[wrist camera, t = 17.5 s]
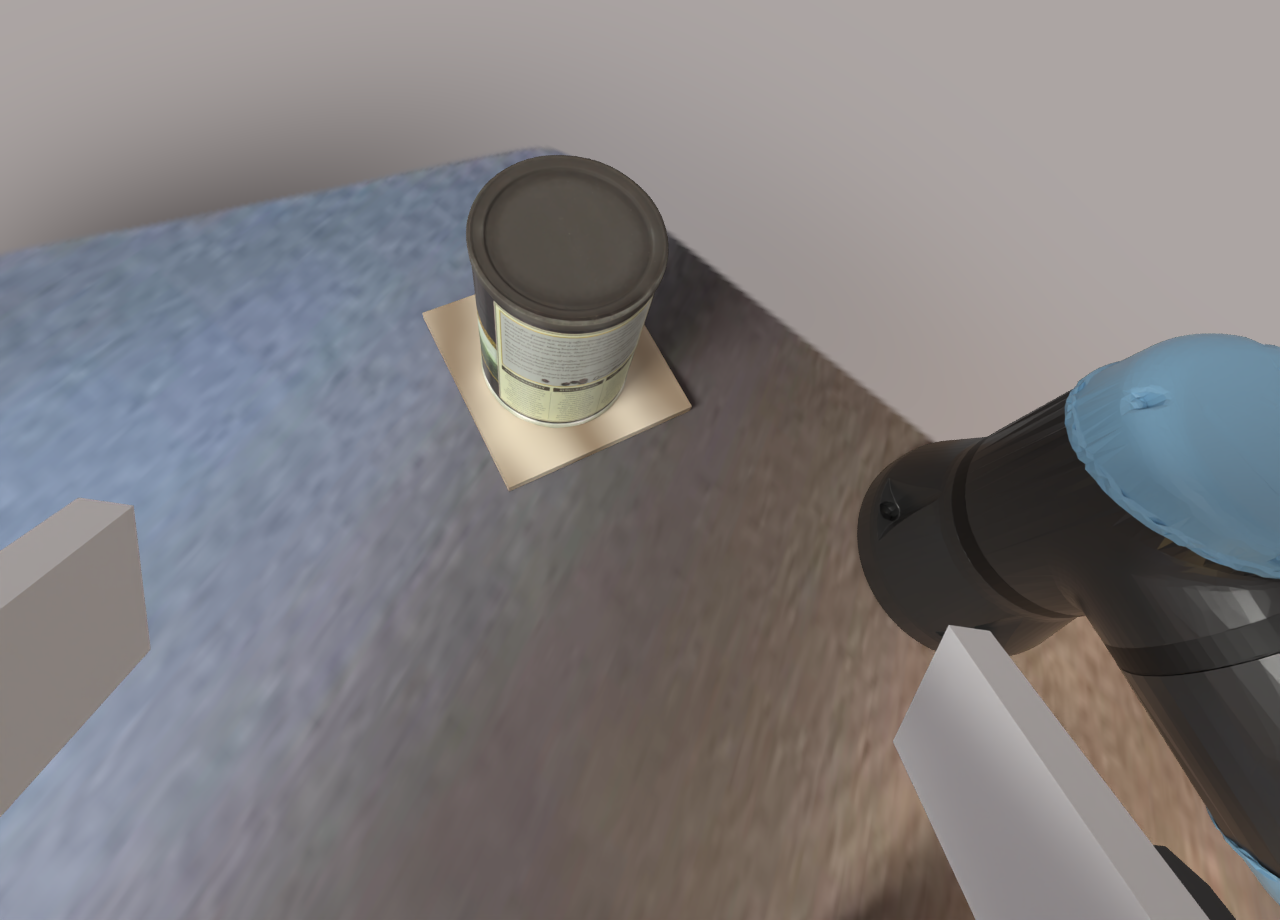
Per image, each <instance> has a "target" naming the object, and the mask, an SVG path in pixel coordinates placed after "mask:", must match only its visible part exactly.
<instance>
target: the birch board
mask: <svg viewBox="0 0 1280 920" xmlns="http://www.w3.org/2000/svg"><path fill="white" fill-rule="evenodd" d="M423 317H424V320H425V322H426V324H427V326H428V328H429V330H430V332H431V334H432V336H433V339H434V341H435V343H436V345H437V347H438V349H439V351H440V353H441V355H442V357H443V359H444V361H445V363H446V365H447V367H448V369H449V371H450V373H451V375H452V377H453V379H454V381H455V383H456V385H457V387H458V389H459V391H460V393H461V395H462V397H463V399H464V401H465V403H466V405H467V407H468V409H469V411H470V413H471V415H472V417H473V419H474V421H475V423H476V426H477V428H478V430H479V432H480V434H481V436H482V438H483V440H484V442H485V444H486V446H487V448H488V450H489V452H490V454H491V456H492V458H493V460H494V462H495V464H496V466H497V468H498V470H499V472H500V474H501V476H502V478H503V480H504V482H505V484H506V486H507V488H508V490H509V491H511V490H514V489H516V488H518V487H520V486H523V485H525V484H527V483H529V482H532V481H534V480H536V479H538V478H541V477H543V476H545V475H547V474H549V473H552V472H554V471H556V470H558V469H561V468H563V467H565V466H567V465H570V464H572V463H574V462H576V461H578V460H581V459H583V458H585V457H587V456H590V455H592V454H594V453H596V452H599V451H601V450H603V449H605V448H608V447H610V446H612V445H614V444H616V443H619V442H621V441H623V440H625V439H628V438H630V437H632V436H634V435H637V434H639V433H641V432H643V431H646V430H648V429H650V428H652V427H654V426H657V425H659V424H661V423H663V422H666V421H668V420H670V419H672V418H675V417H677V416H679V415H681V414H683V413H686V412H688V411H689V410H690V409H691V407H692V406H691V404H690V402H689V401H688V399H687V397H686V395H685V394H684V392H683V390H682V389H681V387H680V385H679V383H678V382H677V380H676V378H675V376H674V375H673V373H672V371H671V370H670V368H669V366H668V364H667V363H666V361H665V359H664V357H663V356H662V354H661V352H660V351H659V349H658V347H657V345H656V344H655V342H654V340H653V338H652V337H651V335H650V333H649V332H648V330H647V328H646V326H645V325H644V326H643V329H642V331H641V334H640V338H639V341H638V344H637V347H636V349H635V352H634V356H633V359H632V362H631V364H630V367H629V370H628V374H627V379H626V383H625V385H624V388H623V390H622V392H621V394H620V395H619V397H618V398H617V400H616V401H615V402H614V403H613V404H612V406H611V407H610V408H609V409H608V410H607V411H605V412H604V413H602V414H601V415H600V416H598V417H596V418H595V419H593V420H591V421H589V422H586V423H584V424H580V425H577V426H572V427H563V428H550V427H544V426H539V425H535V424H532V423H529V422H526V421H524V420H522V419H520V418H518V417H516V416H515V415H513V414H512V413H510V412H509V411H507V410H506V409H505V408H504V407H503V406H502V405H501V404H500V403H499V402H498V401H497V400H496V399H495V397H494V396H493V394H492V393H491V391H490V389H489V388H488V386H487V384H486V381H485V378H484V375H483V372H482V366H481V344H480V336H479V327H478V317H477V307H476V299H475V295H472V296H470V297H467V298H464V299H461V300H458V301H455V302H452V303H450V304H447V305H444V306H441V307H438V308H435V309H432V310H430V311H427V312H424V313H423Z"/></svg>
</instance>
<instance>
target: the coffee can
mask: <svg viewBox="0 0 1280 920" xmlns="http://www.w3.org/2000/svg"><path fill="white" fill-rule="evenodd" d="M466 241H467V248H468V253H469V258H470V262H471V265H472V272H473V280H474V289H475V299H476V307H477V317H478V327H479V336H480V344H481V366H482V372H483V375H484V378H485V381H486V384H487V386H488V388H489V389H490V391H491V393H492V394H493V396H494V397H495V399H496V400H497V401H498V402H499V403H500V404H501V405H502V406H503V407H504V408H505V409H506V410H507V411H509V412H510V413H512V414H513V415H515V416H516V417H518V418H520V419H522V420H524V421H526V422H529V423H532V424H535V425H539V426H544V427H550V428H563V427H572V426H577V425H580V424H584V423H586V422H589V421H591V420H593V419H595V418H596V417H598V416H600V415H601V414H602V413H604V412H605V411H607V410H608V409H609V408H610V407H611V406H612V404H613V403H614V402H615V401H616V400H617V398H618V397H619V395H620V394H621V392H622V390H623V388H624V385H625V383H626V379H627V374H628V370H629V367H630V364H631V362H632V359H633V356H634V352H635V349H636V347H637V344H638V341H639V338H640V334H641V331H642V329H643V326H644V323H645V320H646V317H647V314H648V311H649V309H650V306H651V303H652V299H653V297H654V294H655V291H656V290H657V288H658V286H659V284H660V282H661V280H662V278H663V275H664V272H665V269H666V265H667V260H668V236H667V233H666V228H665V225H664V222H663V219H662V216H661V214H660V212H659V210H658V208H657V207H656V205H655V204H654V202H653V201H652V199H651V198H650V197H649V196H648V194H647V193H646V192H645V191H644V190H643V189H642V188H641V187H640V186H639V185H638V184H636V183H635V182H634V181H633V180H631V179H630V178H629V177H627V176H626V175H624V174H623V173H621V172H620V171H618V170H616V169H614V168H613V167H611V166H608V165H605V164H603V163H601V162H598V161H595V160H591V159H587V158H582V157H577V156H566V155H549V156H540V157H535V158H531V159H527V160H524V161H521V162H518V163H516V164H514V165H511V166H510V167H508V168H506V169H504V170H503V171H501V172H500V173H498V174H497V175H496V176H495V177H493V178H492V179H491V180H490V181H488V183H487V184H486V185H485V186H484V187H483V188H482V190H481V191H480V192H479V194H478V195H477V197H476V198H475V200H474V202H473V204H472V207H471V210H470V213H469V216H468V220H467V227H466Z"/></svg>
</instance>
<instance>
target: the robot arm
mask: <svg viewBox="0 0 1280 920" xmlns="http://www.w3.org/2000/svg"><path fill="white" fill-rule="evenodd" d="M857 537H858V549H859V555H860V560H861V564H862V568H863V571H864V574H865V576H866V579H867V581H868V584H869V586H870V588H871V590H872V592H873V594H874V595H875V597H876V599H877V600H878V602H879V603H880V605H881V606H882V608H883V609H884V610H885V612H886V613H887V614H888V615H889V617H890V618H891V619H892V620H893V621H894V622H895V623H896V624H897V625H898V626H899V627H900V628H901V629H902V630H903V631H904V632H906V633H907V634H908V635H909V636H911V637H912V638H914V639H915V640H916V641H918V642H920V643H921V644H923V645H925V646H926V647H928V648H930V649H932V650H935V651H936V653H935V655H934V657H933V659H932V661H931V663H930V665H929V667H928V669H927V671H926V673H925V676H924V678H923V680H922V682H921V684H920V686H919V688H918V690H917V692H916V694H915V696H914V698H913V701H912V703H911V705H910V707H909V709H908V711H907V713H906V715H905V717H904V719H903V721H902V724H901V726H900V728H899V730H898V732H897V734H896V736H895V738H894V740H893V743H894V745H895V747H896V749H897V751H898V753H899V755H900V758H901V760H902V762H903V764H904V766H905V768H906V771H907V773H908V775H909V777H910V779H911V781H912V784H913V786H914V788H915V790H916V792H917V794H918V796H919V799H920V801H921V803H922V805H923V807H924V809H925V812H926V814H927V816H928V818H929V820H930V822H931V825H932V827H933V829H934V831H935V833H936V835H937V838H938V840H939V842H940V844H941V846H942V848H943V850H944V853H945V855H946V857H947V859H948V861H949V863H950V866H951V868H952V870H953V872H954V874H955V876H956V879H957V881H958V883H959V885H960V887H961V889H962V892H963V894H964V896H965V898H966V900H967V902H968V904H969V907H970V909H971V911H972V913H973V915H974V917H975V920H1236V919H1235V918H1234V916H1233V915H1232V914H1231V913H1230V911H1229V910H1228V909H1227V908H1226V906H1225V905H1224V904H1223V903H1222V901H1221V900H1220V899H1219V898H1218V896H1217V895H1216V894H1215V893H1214V891H1213V890H1212V889H1211V888H1210V886H1209V885H1208V884H1207V883H1206V882H1204V881H1203V880H1202V879H1201V878H1200V877H1199V876H1198V875H1197V874H1196V873H1194V872H1193V871H1192V870H1191V869H1190V868H1189V867H1188V866H1187V865H1186V864H1184V863H1183V862H1182V861H1181V860H1180V859H1179V858H1178V857H1177V856H1176V855H1174V854H1173V853H1172V852H1171V851H1170V850H1169V849H1168V848H1167V847H1165V846H1157V845H1152V843H1151V842H1150V841H1149V839H1148V838H1147V837H1146V835H1145V834H1144V833H1143V831H1142V830H1141V829H1140V827H1139V826H1138V825H1137V824H1136V822H1135V821H1134V820H1133V818H1132V817H1131V816H1130V814H1129V813H1128V812H1127V810H1126V809H1125V808H1124V806H1123V805H1122V804H1121V803H1120V801H1119V800H1118V799H1117V797H1116V796H1115V795H1114V793H1113V792H1112V791H1111V789H1110V788H1109V787H1108V785H1107V784H1106V783H1105V782H1104V780H1103V779H1102V778H1101V776H1100V775H1099V774H1098V772H1097V771H1096V770H1095V768H1094V767H1093V766H1092V764H1091V763H1090V762H1089V760H1088V759H1087V758H1086V757H1085V755H1084V754H1083V753H1082V751H1081V750H1080V749H1079V747H1078V746H1077V745H1076V743H1075V742H1074V741H1073V739H1072V738H1071V737H1070V736H1069V734H1068V733H1067V732H1066V730H1065V729H1064V728H1063V726H1062V725H1061V724H1060V722H1059V721H1058V720H1057V718H1056V717H1055V716H1054V714H1053V713H1052V712H1051V711H1050V709H1049V708H1048V707H1047V705H1046V704H1045V703H1044V701H1043V700H1042V699H1041V697H1040V696H1039V695H1038V693H1037V692H1036V691H1035V690H1034V688H1033V687H1032V686H1031V684H1030V683H1029V682H1028V680H1027V679H1026V678H1025V676H1024V675H1023V674H1022V672H1021V671H1020V670H1019V669H1018V667H1017V666H1016V665H1015V663H1014V662H1013V661H1012V659H1011V658H1010V657H1009V656H1012V655H1015V654H1019V653H1022V652H1024V651H1027V650H1029V649H1031V648H1033V647H1035V646H1037V645H1039V644H1040V643H1042V642H1043V641H1045V640H1046V639H1047V638H1049V637H1050V636H1052V635H1053V634H1054V633H1056V632H1057V631H1058V630H1060V629H1061V628H1063V627H1064V626H1065V625H1067V624H1068V623H1070V622H1071V621H1072V620H1074V619H1075V618H1076V617H1080V616H1086V617H1087V618H1088V620H1089V621H1090V623H1091V624H1092V626H1093V627H1094V629H1095V630H1096V632H1097V633H1098V635H1099V637H1100V638H1101V640H1102V641H1103V643H1104V644H1105V646H1106V647H1107V649H1108V650H1109V652H1110V654H1111V655H1112V657H1113V658H1114V660H1115V661H1116V663H1117V665H1118V667H1119V668H1120V670H1121V672H1122V673H1123V675H1124V676H1125V678H1126V679H1127V681H1128V683H1129V684H1130V686H1131V687H1132V689H1133V691H1134V692H1135V694H1136V695H1137V697H1138V699H1139V700H1140V702H1141V703H1142V705H1143V707H1144V708H1145V710H1146V711H1147V713H1148V715H1149V716H1150V718H1151V719H1152V721H1153V723H1154V724H1155V726H1156V727H1157V729H1158V730H1159V732H1160V734H1161V735H1162V737H1163V738H1164V740H1165V742H1166V743H1167V745H1168V746H1169V748H1170V750H1171V751H1172V753H1173V754H1174V756H1175V758H1176V759H1177V761H1178V762H1179V764H1180V766H1181V767H1182V769H1183V770H1184V772H1185V773H1186V775H1187V777H1188V778H1189V780H1190V781H1191V783H1192V785H1193V786H1194V788H1195V789H1196V791H1197V793H1198V794H1199V796H1200V797H1201V799H1202V801H1203V802H1204V804H1205V805H1206V808H1207V811H1208V813H1209V815H1210V817H1211V819H1212V821H1213V823H1214V825H1215V827H1216V828H1217V829H1218V830H1219V831H1221V833H1222V835H1223V837H1224V839H1225V841H1226V842H1227V843H1228V844H1229V845H1230V846H1231V847H1232V848H1233V849H1234V850H1235V851H1236V852H1237V853H1238V854H1239V855H1240V856H1241V857H1242V858H1243V860H1244V861H1245V862H1246V864H1247V865H1248V866H1249V868H1250V869H1251V871H1252V872H1253V873H1254V875H1255V876H1256V878H1257V879H1258V880H1259V882H1260V883H1261V885H1262V886H1263V887H1264V889H1265V890H1266V891H1267V892H1268V894H1269V895H1270V896H1271V897H1272V898H1273V899H1274V900H1275V901H1276V902H1277V903H1278V904H1279V905H1280V347H1278V346H1275V345H1263V344H1261V343H1258V342H1256V341H1254V340H1252V339H1249V338H1247V337H1242V336H1236V335H1228V334H1193V335H1186V336H1180V337H1175V338H1172V339H1169V340H1166V341H1162V342H1160V343H1157V344H1155V345H1153V346H1151V347H1149V348H1147V349H1145V350H1143V351H1141V352H1138V353H1137V354H1134V355H1133V356H1130V357H1128V358H1126V359H1124V360H1122V361H1119V362H1115V363H1111V364H1108V365H1105V366H1103V367H1100V368H1098V369H1096V370H1094V371H1093V372H1091V373H1089V374H1088V375H1087V376H1085V377H1084V378H1082V379H1081V380H1080V381H1079V382H1078V384H1077V386H1076V387H1075V388H1074V389H1072V390H1070V391H1068V392H1067V393H1065V394H1063V395H1061V396H1059V397H1057V398H1056V399H1054V400H1052V401H1050V402H1048V403H1047V404H1045V405H1043V406H1041V407H1039V408H1038V409H1036V410H1034V411H1032V412H1030V413H1029V414H1027V415H1025V416H1023V417H1021V418H1020V419H1018V420H1016V421H1014V422H1012V423H1010V424H1009V425H1007V426H1005V427H1003V428H1002V429H1000V430H998V431H996V432H995V433H993V434H991V435H990V436H988V437H982V438H971V439H961V440H949V441H940V442H935V443H931V444H927V445H924V446H922V447H919V448H917V449H915V450H912V451H910V452H909V453H907V454H906V455H904V456H902V457H901V458H899V459H898V460H896V461H895V462H893V463H892V464H890V465H889V466H887V467H886V468H885V469H884V470H883V471H882V472H881V473H880V474H879V475H878V476H877V477H876V479H875V480H874V481H873V483H872V484H871V486H870V487H869V489H868V491H867V493H866V495H865V497H864V500H863V503H862V506H861V509H860V514H859V519H858V531H857ZM149 651H150V641H149V632H148V624H147V615H146V607H145V598H144V590H143V582H142V573H141V565H140V556H139V548H138V539H137V531H136V522H135V514H134V506H132V505H125V504H118V503H111V502H105V501H98V500H91V499H84V498H77V499H76V500H74V501H73V502H71V503H70V504H68V505H67V506H66V507H64V508H63V509H61V510H60V511H58V512H57V513H55V514H54V515H52V516H51V517H49V518H48V519H46V520H45V521H44V522H42V523H41V524H39V525H38V526H36V527H35V528H33V529H32V530H30V531H29V532H27V533H26V534H24V535H23V536H22V537H20V538H19V539H17V540H16V541H14V542H13V543H11V544H10V545H8V546H7V547H5V548H4V549H2V550H1V551H0V817H1V816H2V815H3V814H4V813H5V811H6V810H7V809H8V808H9V807H10V806H11V805H12V804H13V802H14V801H15V800H16V799H17V798H18V797H19V796H20V795H21V794H22V792H23V791H24V790H25V789H26V788H27V787H28V786H29V785H30V783H31V782H32V781H33V780H34V779H35V778H36V777H37V776H38V775H39V773H40V772H41V771H42V770H43V769H44V768H45V767H46V766H47V765H48V763H49V762H50V761H51V760H52V759H53V758H54V757H55V756H56V754H57V753H58V752H59V751H60V750H61V749H62V748H63V747H64V746H65V744H66V743H67V742H68V741H69V740H70V739H71V738H72V737H73V735H74V734H75V733H76V732H77V731H78V730H79V729H80V728H81V727H82V725H83V724H84V723H85V722H86V721H87V720H88V719H89V718H90V716H91V715H92V714H93V713H94V712H95V711H96V710H97V709H98V708H99V706H100V705H101V704H102V703H103V702H104V701H105V700H106V699H107V697H108V696H109V695H110V694H111V693H112V692H113V691H114V690H115V689H116V687H117V686H118V685H119V684H120V683H121V682H122V681H123V680H124V678H125V677H126V676H127V675H128V674H129V673H130V672H131V671H132V670H133V668H134V667H135V666H136V665H137V664H138V663H139V662H140V661H141V660H142V658H143V657H144V656H145V655H146V654H147V653H148V652H149Z"/></svg>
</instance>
